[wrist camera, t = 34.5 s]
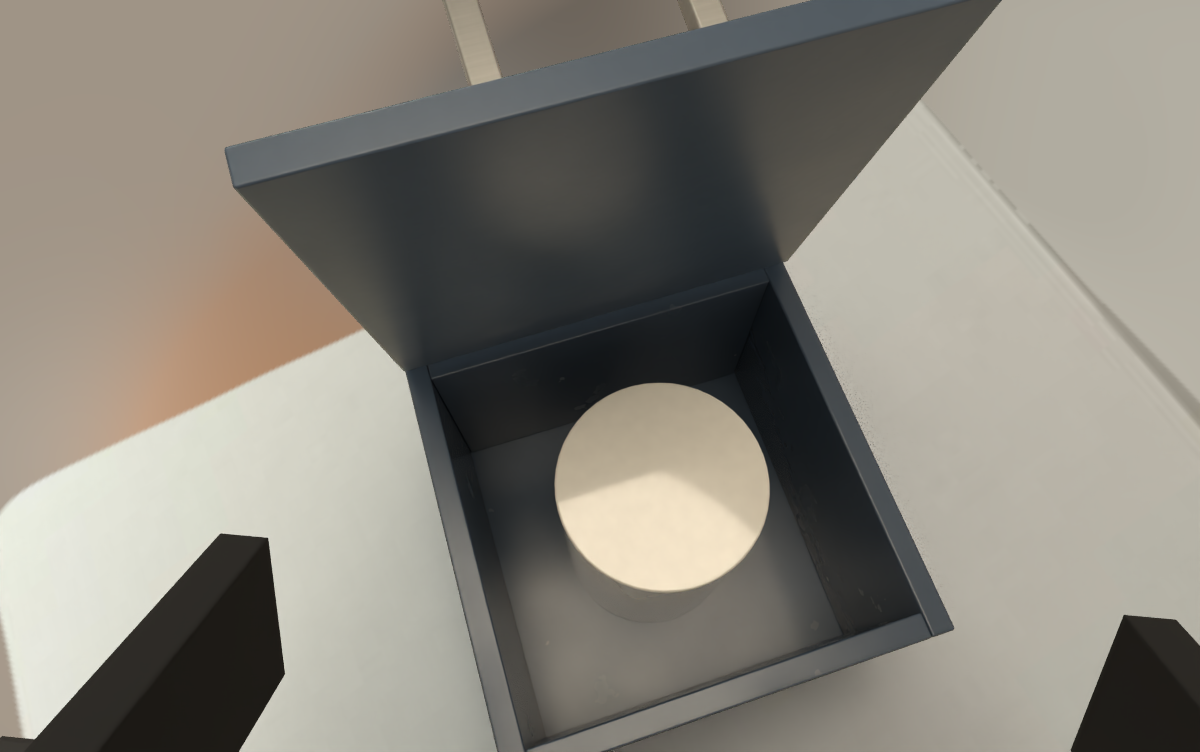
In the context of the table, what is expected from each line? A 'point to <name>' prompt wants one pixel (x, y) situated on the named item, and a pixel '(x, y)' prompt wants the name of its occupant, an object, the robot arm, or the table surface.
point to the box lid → (596, 168)
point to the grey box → (743, 599)
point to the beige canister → (659, 498)
